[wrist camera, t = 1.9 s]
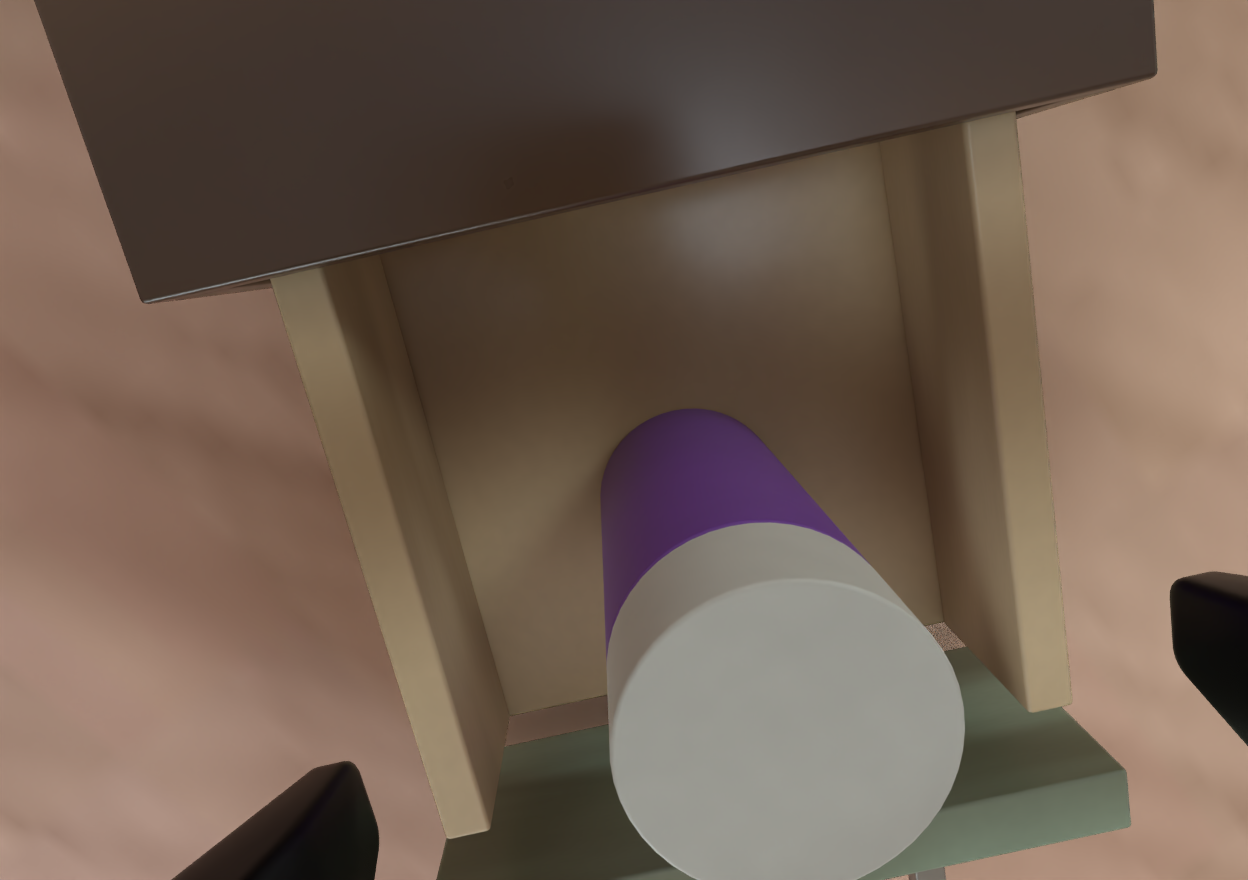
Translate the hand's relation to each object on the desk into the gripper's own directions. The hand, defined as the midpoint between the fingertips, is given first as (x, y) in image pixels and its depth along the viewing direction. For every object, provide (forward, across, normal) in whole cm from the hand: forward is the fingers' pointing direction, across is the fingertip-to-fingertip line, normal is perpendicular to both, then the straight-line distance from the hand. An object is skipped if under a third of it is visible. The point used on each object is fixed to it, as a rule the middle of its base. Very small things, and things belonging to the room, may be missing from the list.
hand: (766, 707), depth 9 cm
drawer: (+9, 0, +2) cm, 9 cm away
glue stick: (+8, 0, 0) cm, 8 cm away
